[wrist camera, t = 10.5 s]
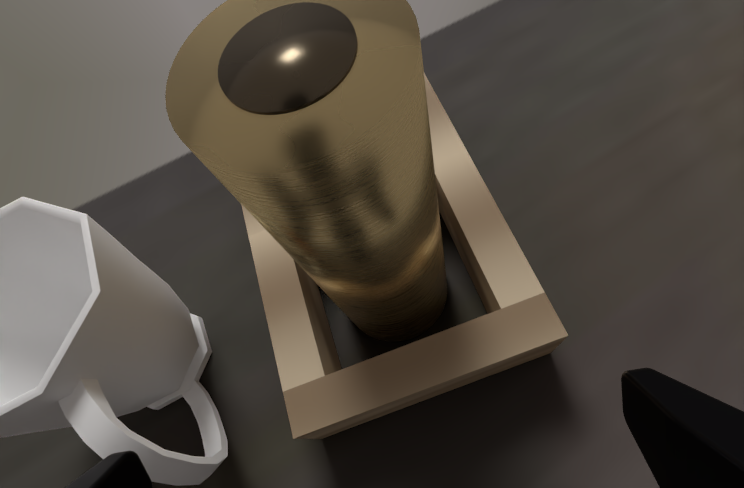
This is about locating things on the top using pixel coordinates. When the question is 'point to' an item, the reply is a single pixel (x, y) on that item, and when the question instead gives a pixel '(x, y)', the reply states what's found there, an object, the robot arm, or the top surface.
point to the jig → (423, 357)
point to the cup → (96, 341)
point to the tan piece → (324, 145)
